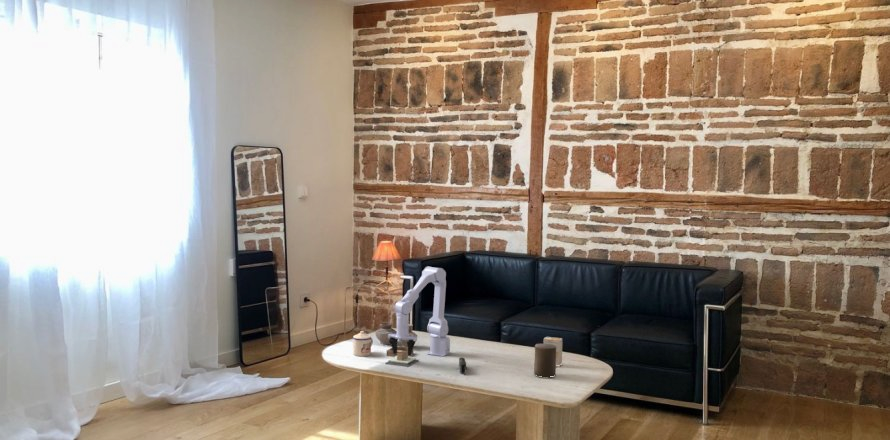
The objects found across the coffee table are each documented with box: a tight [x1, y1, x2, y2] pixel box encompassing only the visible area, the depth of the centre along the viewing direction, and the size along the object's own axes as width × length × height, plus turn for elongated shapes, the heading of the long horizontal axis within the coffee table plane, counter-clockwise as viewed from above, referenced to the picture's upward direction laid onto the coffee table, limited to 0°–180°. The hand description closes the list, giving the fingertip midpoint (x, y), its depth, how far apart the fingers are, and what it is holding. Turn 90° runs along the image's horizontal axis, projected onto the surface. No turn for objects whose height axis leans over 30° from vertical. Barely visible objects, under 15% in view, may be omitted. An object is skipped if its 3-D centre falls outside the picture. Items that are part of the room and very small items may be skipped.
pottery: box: [374, 321, 418, 347], centre depth 389 cm, size 11×25×12 cm, turn 57°
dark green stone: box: [458, 357, 467, 376], centre depth 344 cm, size 5×3×15 cm
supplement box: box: [543, 336, 563, 365], centre depth 355 cm, size 8×5×13 cm, turn 65°
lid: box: [387, 351, 417, 364], centre depth 357 cm, size 10×10×4 cm
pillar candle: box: [533, 343, 557, 377], centre depth 338 cm, size 10×10×15 cm
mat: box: [385, 358, 420, 368], centre depth 357 cm, size 12×12×1 cm
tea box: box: [386, 345, 414, 358], centre depth 371 cm, size 10×10×3 cm
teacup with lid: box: [352, 330, 374, 357], centre depth 371 cm, size 12×9×12 cm
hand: (402, 354), depth 357 cm, fingers open, 7 cm apart
